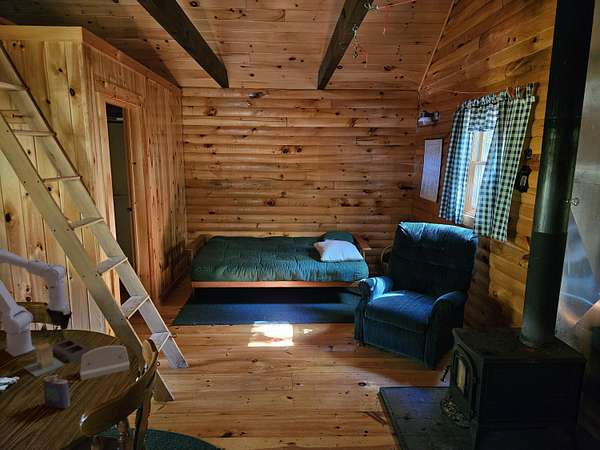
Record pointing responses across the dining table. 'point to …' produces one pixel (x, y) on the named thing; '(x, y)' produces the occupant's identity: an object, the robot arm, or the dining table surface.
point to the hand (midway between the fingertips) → (60, 326)
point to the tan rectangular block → (44, 356)
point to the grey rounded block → (104, 361)
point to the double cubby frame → (69, 349)
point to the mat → (38, 371)
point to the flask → (56, 392)
